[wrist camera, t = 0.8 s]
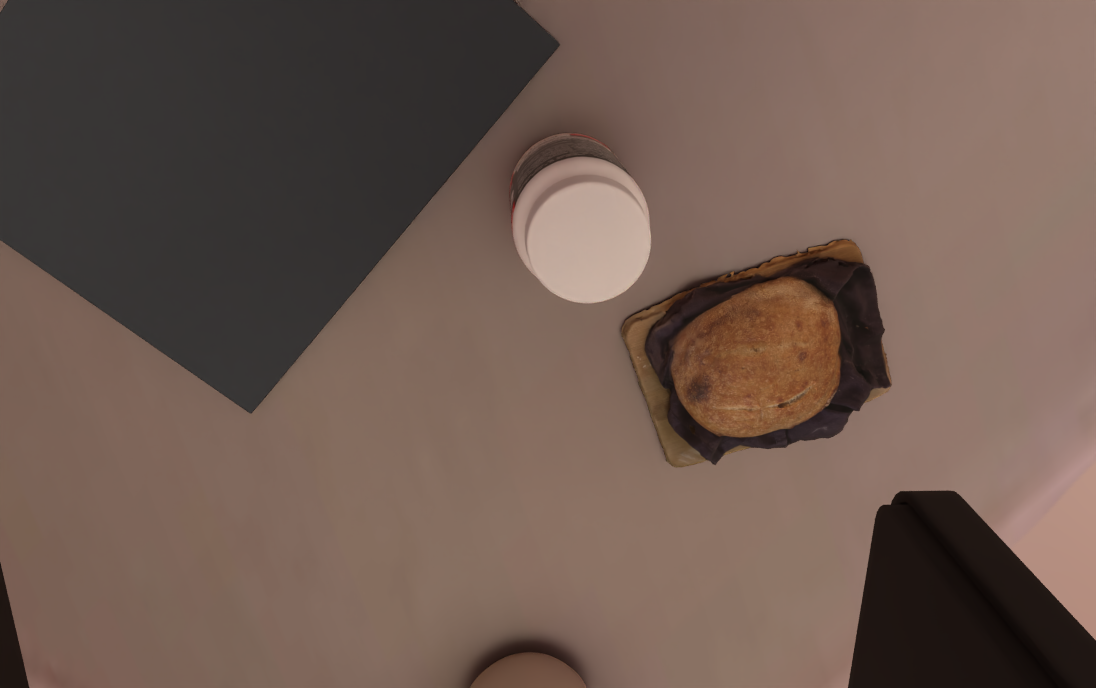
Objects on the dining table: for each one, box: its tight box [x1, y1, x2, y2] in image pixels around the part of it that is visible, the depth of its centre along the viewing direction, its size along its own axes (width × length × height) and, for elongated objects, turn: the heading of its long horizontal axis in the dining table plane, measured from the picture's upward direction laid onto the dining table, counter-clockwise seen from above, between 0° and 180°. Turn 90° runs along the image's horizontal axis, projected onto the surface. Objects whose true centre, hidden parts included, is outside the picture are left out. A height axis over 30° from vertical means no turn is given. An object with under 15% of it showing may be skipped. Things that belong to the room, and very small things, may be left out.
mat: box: [0, 0, 560, 413], centre depth 35 cm, size 20×16×1 cm
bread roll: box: [621, 240, 892, 467], centre depth 38 cm, size 11×8×4 cm
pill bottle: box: [509, 133, 651, 303], centre depth 33 cm, size 5×5×8 cm
